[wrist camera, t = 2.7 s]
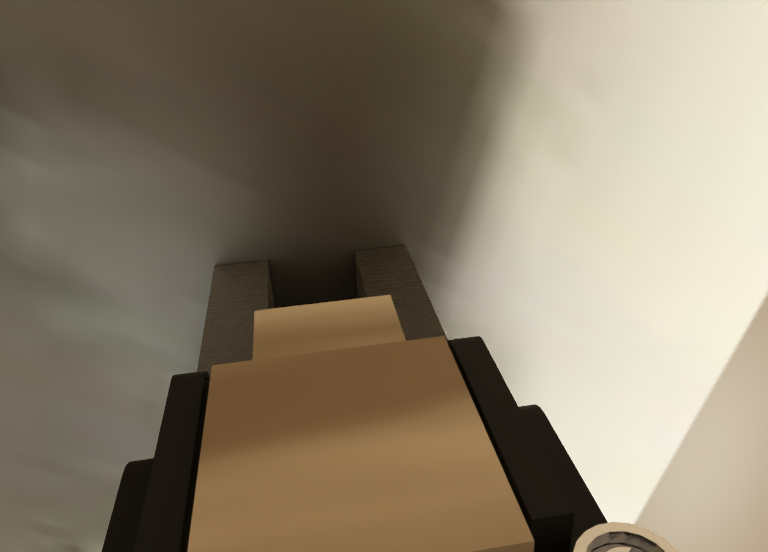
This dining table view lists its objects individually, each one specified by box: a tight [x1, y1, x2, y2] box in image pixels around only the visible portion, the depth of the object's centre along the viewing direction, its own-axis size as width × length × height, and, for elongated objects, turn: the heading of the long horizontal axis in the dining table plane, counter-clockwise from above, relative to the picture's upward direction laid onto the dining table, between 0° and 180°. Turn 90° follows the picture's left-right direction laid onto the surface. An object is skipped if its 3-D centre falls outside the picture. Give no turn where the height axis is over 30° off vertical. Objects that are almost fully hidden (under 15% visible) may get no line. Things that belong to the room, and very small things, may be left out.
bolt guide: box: [197, 245, 448, 377], centre depth 18 cm, size 4×7×14 cm, turn 93°
